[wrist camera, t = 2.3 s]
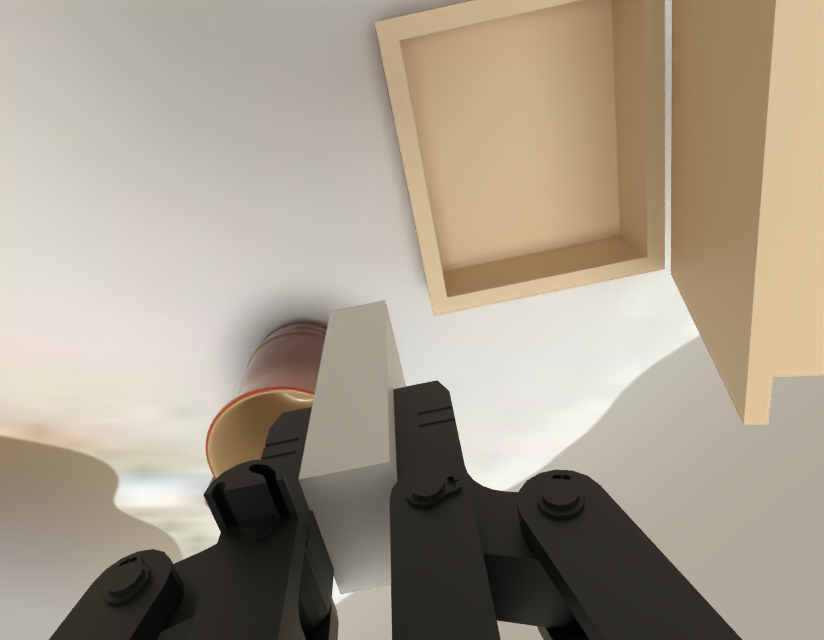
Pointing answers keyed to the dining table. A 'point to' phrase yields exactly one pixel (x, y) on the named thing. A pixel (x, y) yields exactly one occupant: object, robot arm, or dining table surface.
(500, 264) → the mailer box
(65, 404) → the dining table surface
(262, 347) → the mug
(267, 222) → the dining table surface
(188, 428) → the dining table surface
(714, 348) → the lid
